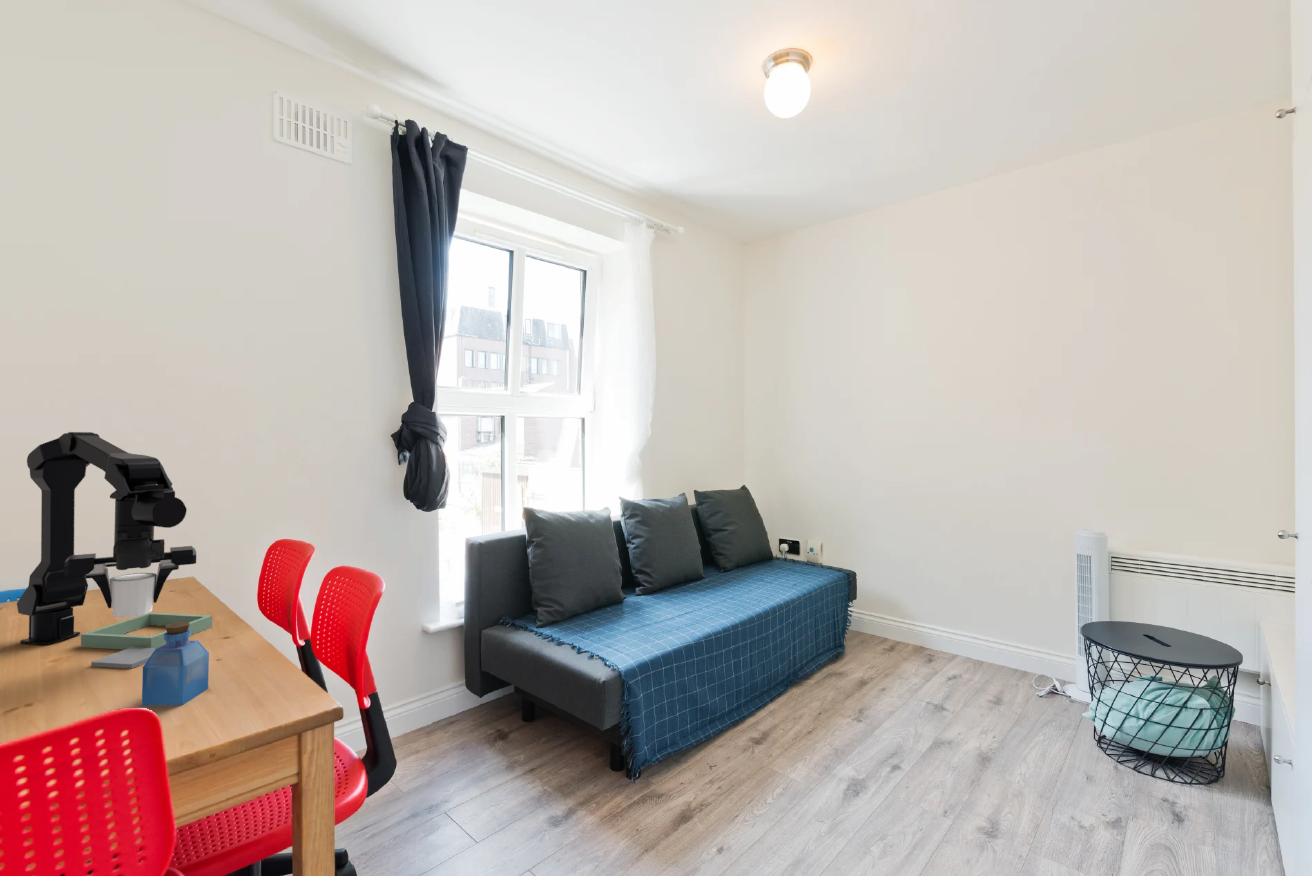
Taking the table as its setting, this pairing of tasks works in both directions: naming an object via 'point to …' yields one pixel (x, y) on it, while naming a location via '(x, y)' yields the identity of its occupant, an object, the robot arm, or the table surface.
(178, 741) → the table surface
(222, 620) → the table surface
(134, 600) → the white cup
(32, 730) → the table surface
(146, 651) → the slate tile
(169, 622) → the green tray
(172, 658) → the perfume bottle
